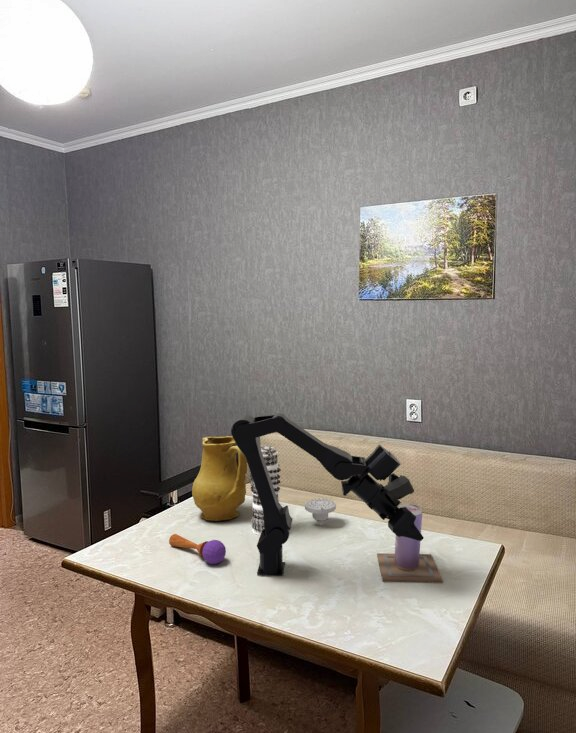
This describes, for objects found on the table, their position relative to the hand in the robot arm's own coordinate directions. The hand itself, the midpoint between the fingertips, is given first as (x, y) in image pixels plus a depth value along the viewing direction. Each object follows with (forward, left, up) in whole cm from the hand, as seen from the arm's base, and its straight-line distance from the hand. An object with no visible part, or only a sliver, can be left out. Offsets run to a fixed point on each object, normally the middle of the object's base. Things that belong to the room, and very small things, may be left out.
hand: (415, 531), depth 132 cm
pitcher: (+34, +56, -10) cm, 66 cm away
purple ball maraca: (+6, +57, -10) cm, 58 cm away
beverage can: (0, +2, -9) cm, 9 cm away
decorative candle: (+23, +40, -10) cm, 47 cm away
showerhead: (+28, +24, -10) cm, 38 cm away
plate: (0, +2, -9) cm, 9 cm away
